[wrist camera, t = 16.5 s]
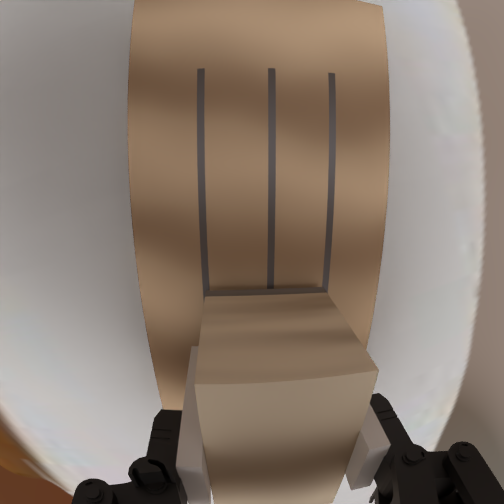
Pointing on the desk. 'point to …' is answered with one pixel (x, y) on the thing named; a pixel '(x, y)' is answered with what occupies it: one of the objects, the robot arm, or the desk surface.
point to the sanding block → (279, 395)
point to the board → (254, 159)
